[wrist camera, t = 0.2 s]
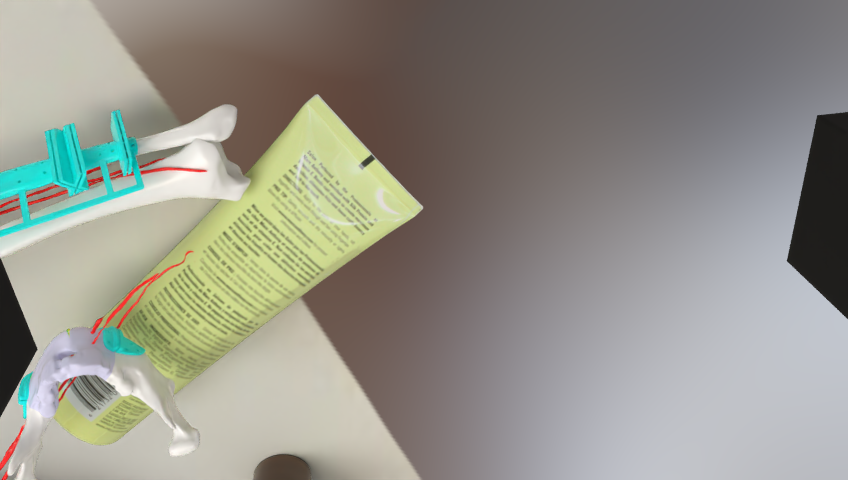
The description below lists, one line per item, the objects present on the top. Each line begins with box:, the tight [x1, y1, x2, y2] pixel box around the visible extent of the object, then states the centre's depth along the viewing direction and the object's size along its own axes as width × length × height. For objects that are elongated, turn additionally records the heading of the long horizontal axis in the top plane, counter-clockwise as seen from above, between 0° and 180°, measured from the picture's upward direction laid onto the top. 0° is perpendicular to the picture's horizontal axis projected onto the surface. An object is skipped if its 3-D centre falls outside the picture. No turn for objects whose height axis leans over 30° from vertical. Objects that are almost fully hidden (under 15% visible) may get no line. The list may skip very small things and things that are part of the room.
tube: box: [53, 94, 423, 445], centre depth 36 cm, size 6×5×20 cm
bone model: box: [0, 104, 251, 480], centre depth 33 cm, size 25×19×10 cm
